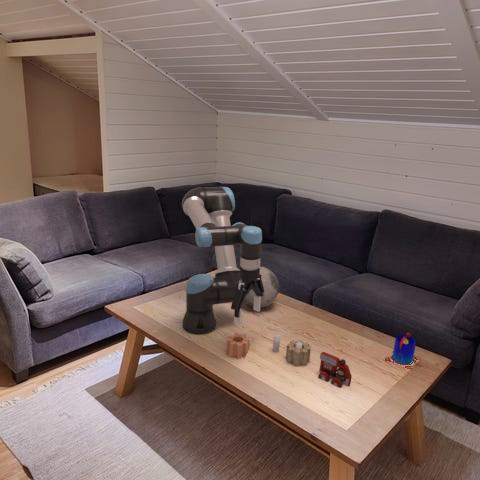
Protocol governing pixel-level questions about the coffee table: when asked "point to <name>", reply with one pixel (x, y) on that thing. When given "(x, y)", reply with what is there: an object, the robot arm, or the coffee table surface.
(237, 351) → the loose gear
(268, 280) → the moon model
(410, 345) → the fantasy tower
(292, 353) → the gear
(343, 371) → the toy fire truck
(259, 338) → the coffee table surface
